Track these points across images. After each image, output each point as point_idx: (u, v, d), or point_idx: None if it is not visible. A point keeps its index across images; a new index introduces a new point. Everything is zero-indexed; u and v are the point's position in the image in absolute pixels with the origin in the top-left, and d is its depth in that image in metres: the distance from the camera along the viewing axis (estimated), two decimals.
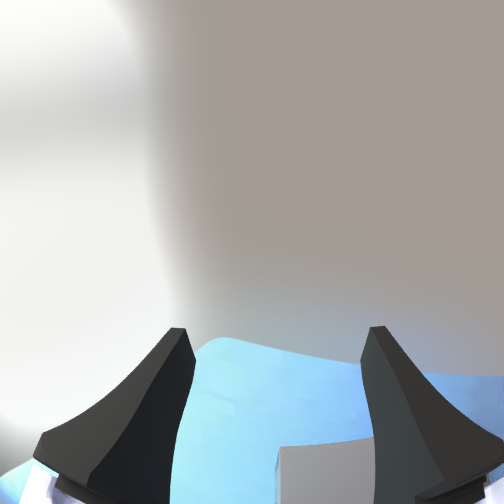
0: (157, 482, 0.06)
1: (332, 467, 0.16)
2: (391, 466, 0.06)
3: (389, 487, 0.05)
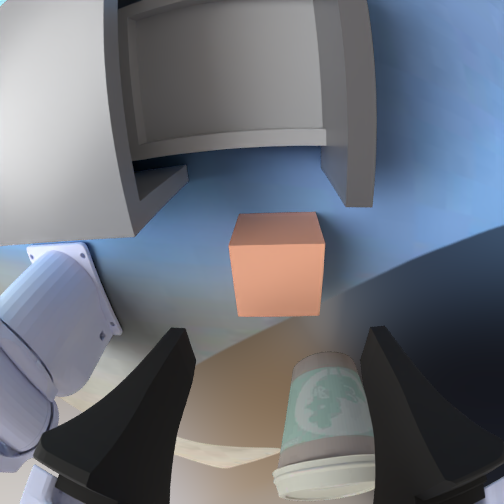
0: (157, 482, 0.06)
1: None
2: (391, 466, 0.06)
3: (389, 487, 0.05)
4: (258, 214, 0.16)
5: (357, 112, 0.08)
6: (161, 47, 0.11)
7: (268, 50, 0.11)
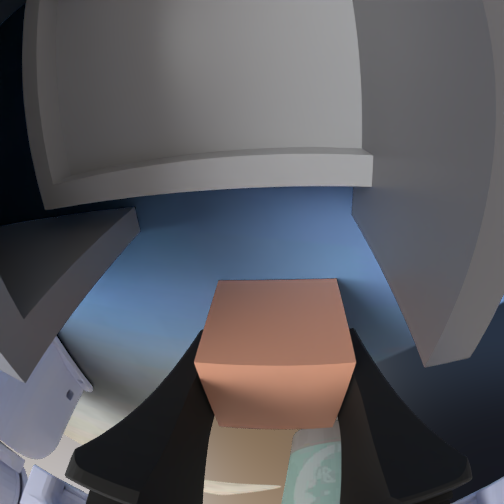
0: (193, 490, 0.06)
1: None
2: (352, 473, 0.06)
3: (350, 494, 0.05)
4: (247, 284, 0.10)
5: None
6: (87, 22, 0.05)
7: (262, 6, 0.05)
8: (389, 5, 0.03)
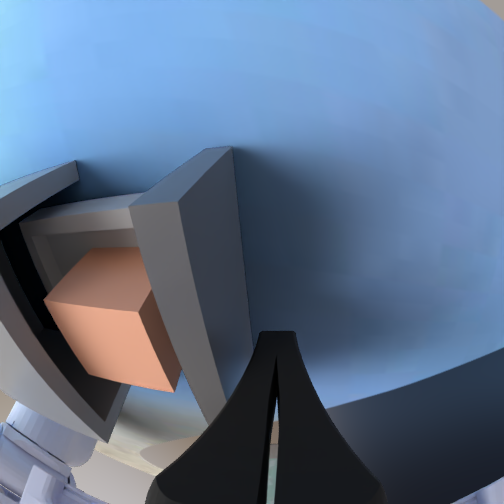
0: (265, 498, 0.06)
1: None
2: None
3: None
4: None
5: None
6: (73, 263, 0.12)
7: None
8: None
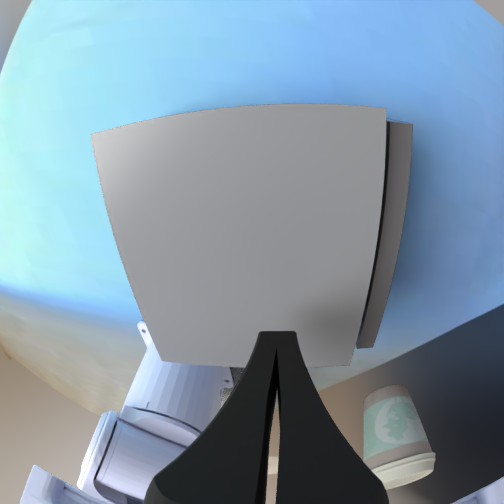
0: (264, 498, 0.06)
1: (191, 175, 0.10)
2: None
3: None
4: None
5: (374, 305, 0.13)
6: None
7: None
8: None
